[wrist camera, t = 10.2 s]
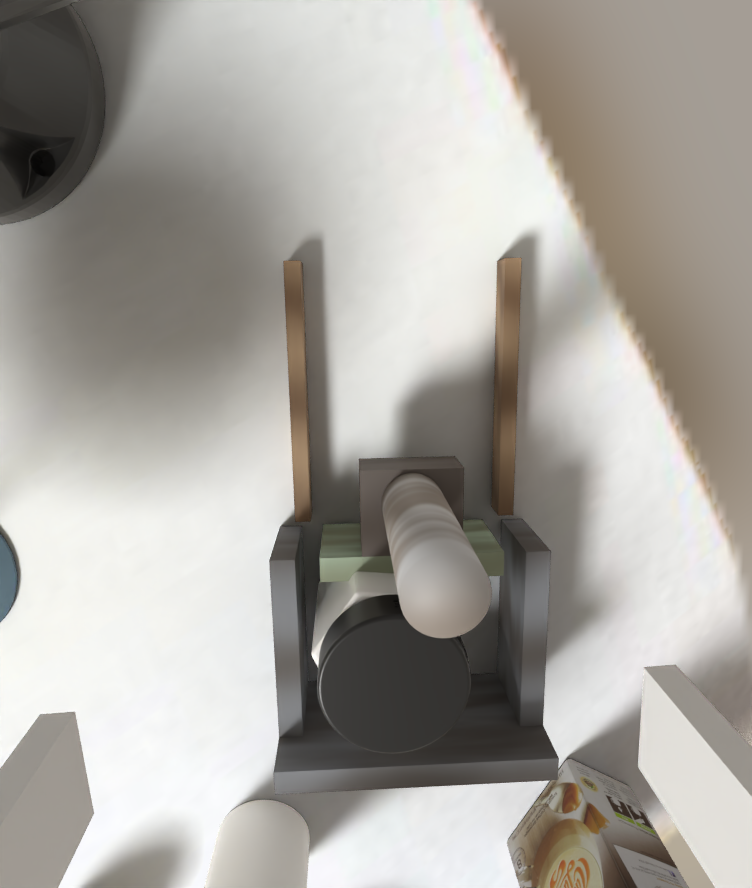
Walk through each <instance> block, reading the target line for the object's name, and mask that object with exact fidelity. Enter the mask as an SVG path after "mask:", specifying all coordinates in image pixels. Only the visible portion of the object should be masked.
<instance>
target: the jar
mask: <svg viewBox="0 0 752 888" xmlns="http://www.w3.org/2000/svg"><path fill="white" fill-rule="evenodd" d="M311 655H312V657H313V659H314V661H315V663H316V665H317V667H318V677H317V694H318V699H319V703H320V706H321V709H322V712H323V714H324V716H325V718H326V719H327V721H328V722H329V724H330V725H331V726H332V728H333V729H334V730H335V731H336V732H337V733H338V734H339V735H341V736H342V737H343V738H344V739H346V740H347V741H349V742H351V743H352V744H354V745H356V746H358V747H361V748H363V749H366V750H370V751H374V752H380V753H403V752H409V751H413V750H416V749H420V748H422V747H425V746H427V745H429V744H431V743H433V742H434V741H436V740H438V739H439V738H440V737H442V736H443V735H444V734H446V733H447V732H448V731H449V730H450V729H451V728H452V727H453V726H454V725H455V723H456V722H457V721H458V719H459V718H460V716H461V715H462V713H463V711H464V709H465V707H466V704H467V702H468V698H469V694H470V688H471V675H470V668H469V664H468V663H469V660H468V657H467V653H466V650H465V648H464V645H463V642H462V640H461V637H460V636H457V637H452V638H435V637H431V636H427V635H425V634H422V633H421V632H419V631H417V630H416V629H415V628H413V627H412V626H411V625H410V624H409V622H408V621H407V620H406V618H405V617H404V615H403V613H402V610H401V606H400V602H399V596H398V591H397V586H396V581H395V575H394V574H393V573H377V572H360V571H357V572H355V573H354V574H353V575H352V577H351V578H350V580H349V581H339V582H319V585H318V594H317V604H316V613H315V623H314V633H313V643H312V652H311Z"/></svg>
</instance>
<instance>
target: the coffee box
mask: <svg viewBox="0 0 752 888" xmlns="http://www.w3.org/2000/svg"><path fill="white" fill-rule="evenodd" d="M507 846H508V849H509V853H510V856H511V859H512V863H513V866H514V869H515V873H516V876H517V879H518V883H519V886H520V888H689V887H688V885H687V884H686V882H685V881H684V879H683V877H682V876H681V874H680V872H679V870H678V869H677V867H676V865H675V863H674V862H673V860H672V859H671V857H670V855H669V853H668V851H667V850H666V848H665V846H664V845H663V843H662V841H661V839H660V838H659V836H658V834H657V832H656V831H655V829H654V827H653V825H652V824H651V822H650V820H649V819H648V817H647V815H646V813H645V812H644V810H643V808H642V807H641V805H640V803H639V801H638V800H637V798H636V796H635V795H634V793H633V791H632V790H631V788H630V787H629V786H627V785H625V784H623V783H621V782H619V781H617V780H615V779H613V778H611V777H609V776H607V775H604V774H602V773H600V772H598V771H596V770H594V769H592V768H590V767H587V766H585V765H583V764H581V763H579V762H577V761H575V760H572V759H567V760H566V761H565V762H564V763H563V765H562V766H561V768H560V769H559V770H558V780H551V781H550V783H549V784H548V786H547V787H546V788H545V790H544V791H543V792H542V794H541V795H540V797H539V798H538V799H537V801H536V802H535V803H534V805H533V806H532V808H531V809H530V810H529V812H528V813H527V814H526V816H525V817H524V819H523V820H522V821H521V823H520V824H519V825H518V827H517V828H516V830H515V831H514V832H513V834H512V835H511V837H510V838H509V839H508V841H507Z"/></svg>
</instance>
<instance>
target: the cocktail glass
mask: <svg viewBox="0 0 752 888" xmlns="http://www.w3.org/2000/svg"><path fill="white" fill-rule="evenodd" d="M16 589H17V570H16V564H15V560H14V558H13V555H12V552H11V550H10V548H9V546H8V544H7V542H6V540H5V539H4V538H3V536H2V535H1V534H0V622H1V621H2V620H3V619H4V618H5V616H6V615H7V613H8V611H9V610H10V608H11V606H12V603H13V601H14V598H15V594H16Z"/></svg>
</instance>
